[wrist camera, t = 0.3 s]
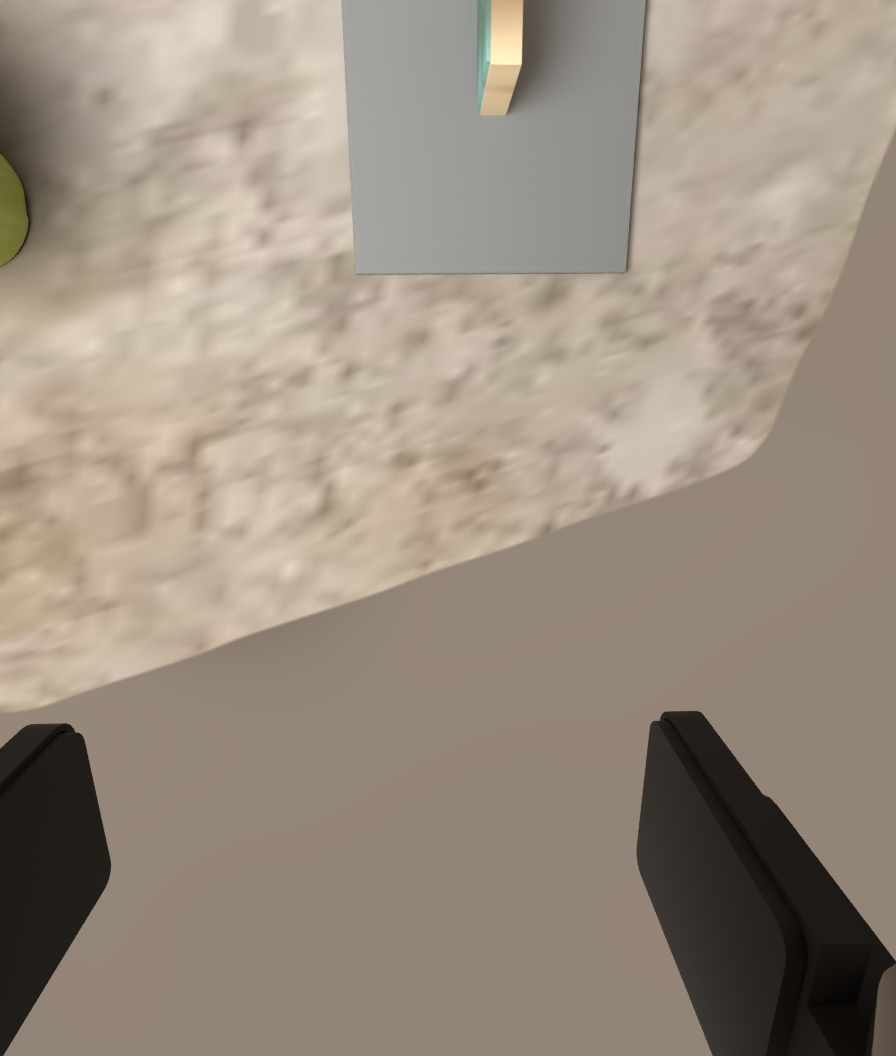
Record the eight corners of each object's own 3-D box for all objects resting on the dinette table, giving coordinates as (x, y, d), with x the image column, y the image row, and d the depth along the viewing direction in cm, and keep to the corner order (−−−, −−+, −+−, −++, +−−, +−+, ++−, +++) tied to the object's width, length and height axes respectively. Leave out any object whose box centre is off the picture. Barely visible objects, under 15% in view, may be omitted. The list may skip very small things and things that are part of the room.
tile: (477, -19, 30) (487, -104, 25) (508, -19, 31) (525, -104, 25) (476, 115, 32) (486, 64, 26) (505, 115, 32) (521, 64, 27)
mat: (342, -13, 31) (340, -19, 30) (642, -11, 31) (646, -18, 31) (356, 274, 35) (355, 273, 34) (622, 273, 35) (625, 271, 35)
